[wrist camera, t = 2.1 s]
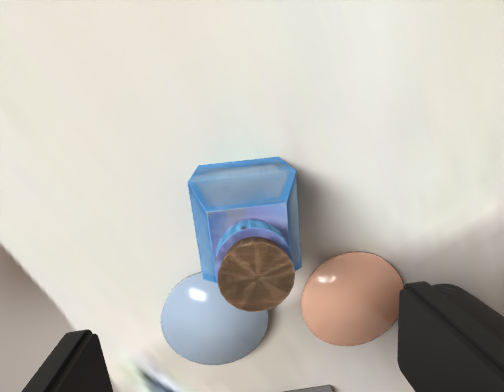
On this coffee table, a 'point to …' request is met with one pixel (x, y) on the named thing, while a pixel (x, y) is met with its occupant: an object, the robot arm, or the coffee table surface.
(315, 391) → the balance
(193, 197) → the perfume bottle
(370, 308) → the peach glossy round dome
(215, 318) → the pale blue dome
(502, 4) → the coffee table surface
